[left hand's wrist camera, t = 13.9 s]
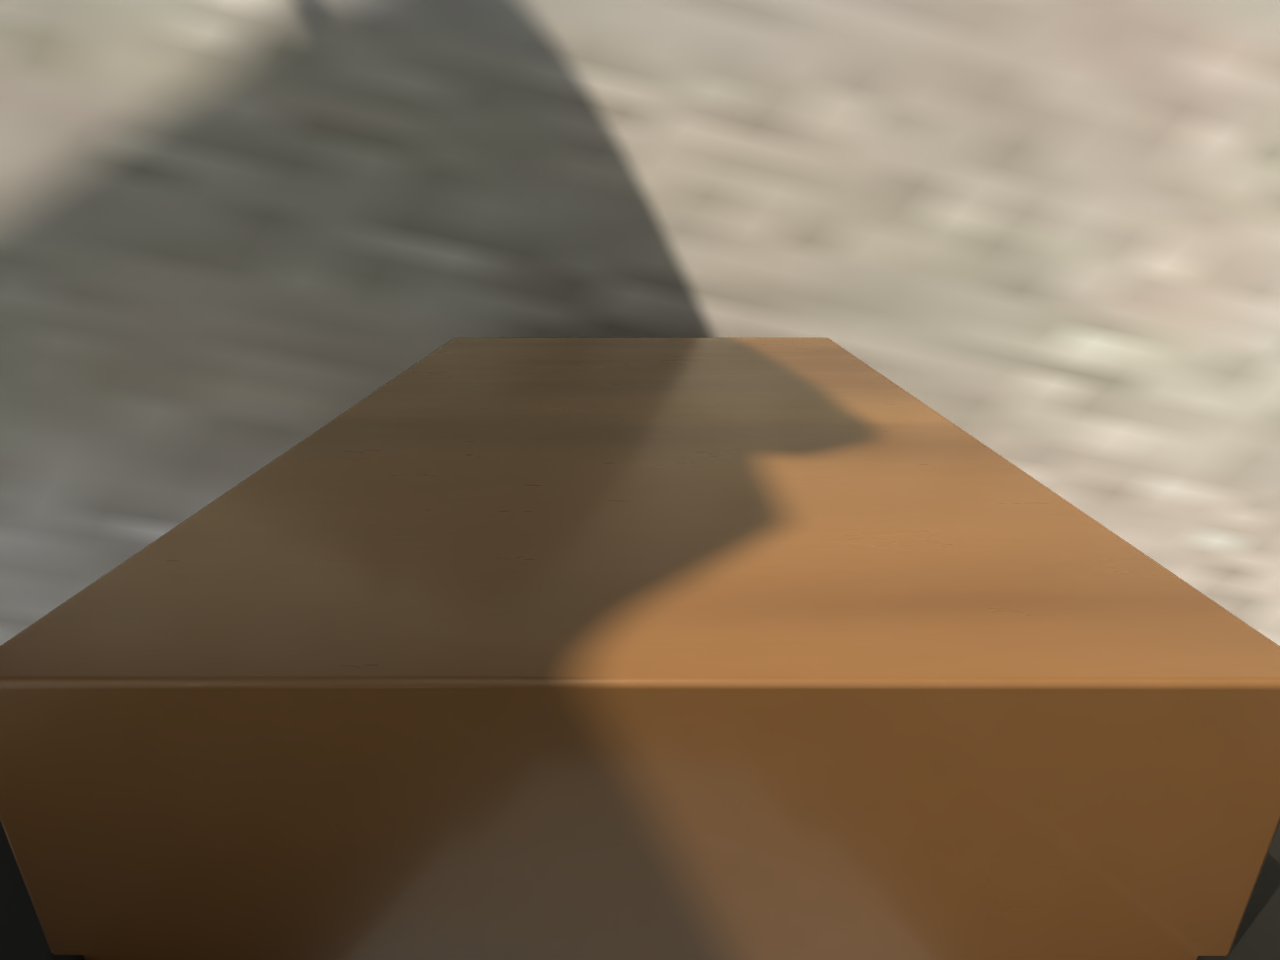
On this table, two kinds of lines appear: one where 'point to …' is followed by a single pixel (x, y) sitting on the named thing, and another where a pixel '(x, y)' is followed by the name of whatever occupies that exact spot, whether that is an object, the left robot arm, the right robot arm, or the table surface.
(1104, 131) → the table surface
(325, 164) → the table surface
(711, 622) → the box
